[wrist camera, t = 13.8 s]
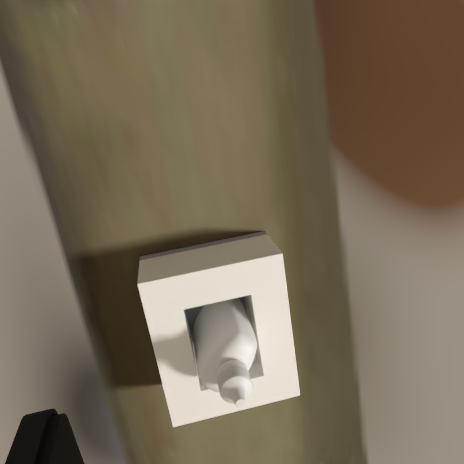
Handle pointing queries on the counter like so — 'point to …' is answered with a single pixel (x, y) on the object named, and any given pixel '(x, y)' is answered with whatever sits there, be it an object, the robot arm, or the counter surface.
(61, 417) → the robot arm
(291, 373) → the keyed holder
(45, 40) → the counter surface
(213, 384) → the eye dropper bottle
